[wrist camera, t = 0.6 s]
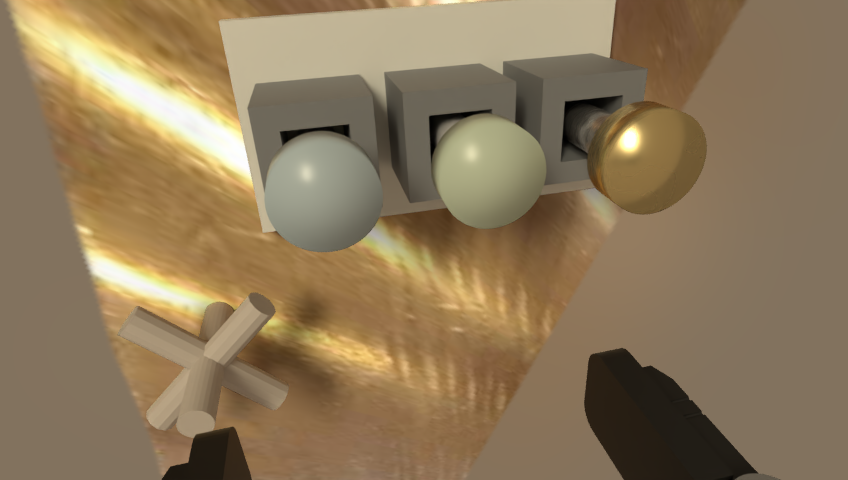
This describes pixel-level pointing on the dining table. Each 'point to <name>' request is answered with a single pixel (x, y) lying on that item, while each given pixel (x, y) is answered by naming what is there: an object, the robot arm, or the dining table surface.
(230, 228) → the dining table surface
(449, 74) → the socket board
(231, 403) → the dining table surface
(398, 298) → the dining table surface
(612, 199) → the brass plug
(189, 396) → the pipe connector
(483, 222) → the sage plug
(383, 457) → the dining table surface
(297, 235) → the slate plug
